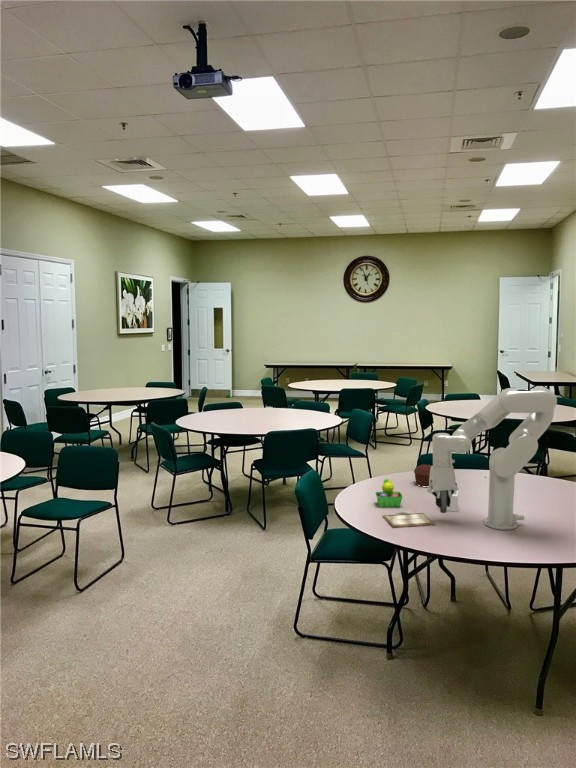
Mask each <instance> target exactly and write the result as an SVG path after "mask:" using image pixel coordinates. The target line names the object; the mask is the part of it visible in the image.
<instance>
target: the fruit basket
mask: <svg viewBox="0 0 576 768" xmlns="http://www.w3.org/2000/svg"><path fill="white" fill-rule="evenodd" d="M394 488H395V486H394V484H393V482H392V480H390V479H389V478H385V479H384V480H383V484H382V485H381V490H382V491H376V492H375V496H376V499H377V503H378V506H379V508H400V506H401V504H402V500H403V497H404V496H403V495H402V493H401V491H394Z"/></svg>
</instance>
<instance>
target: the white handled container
mask: <svg viewBox="0 0 576 768" xmlns="http://www.w3.org/2000/svg"><path fill="white" fill-rule="evenodd" d="M456 485H457V486H458V484H457V482H456ZM450 500H451V504H450V507H448V506H447V508H446V510H449V512H458V507H459V491H458V490H457V491H455V492H454V493H453V494H452V497H450Z"/></svg>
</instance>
